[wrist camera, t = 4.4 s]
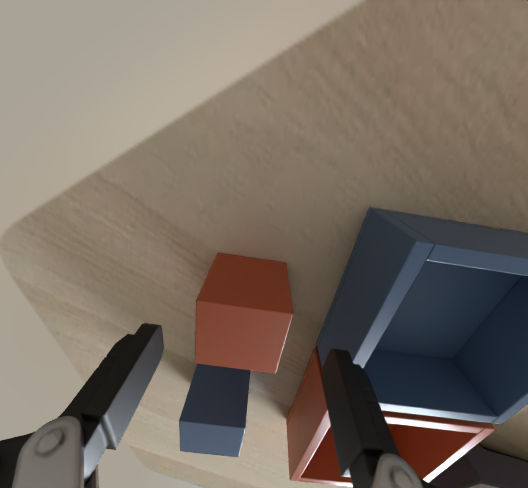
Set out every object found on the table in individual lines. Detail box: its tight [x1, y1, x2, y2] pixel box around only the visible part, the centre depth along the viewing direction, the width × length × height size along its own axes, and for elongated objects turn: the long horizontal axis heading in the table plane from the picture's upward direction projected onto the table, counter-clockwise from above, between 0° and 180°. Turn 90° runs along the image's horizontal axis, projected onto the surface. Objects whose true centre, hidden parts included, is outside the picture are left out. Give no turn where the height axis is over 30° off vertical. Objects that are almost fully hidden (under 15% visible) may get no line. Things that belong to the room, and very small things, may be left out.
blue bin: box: [317, 207, 528, 424], centre depth 13 cm, size 12×12×4 cm
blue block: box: [179, 364, 250, 457], centre depth 18 cm, size 5×5×5 cm
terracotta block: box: [195, 253, 293, 373], centre depth 13 cm, size 5×5×5 cm
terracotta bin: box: [286, 348, 496, 487], centre depth 19 cm, size 12×12×4 cm
